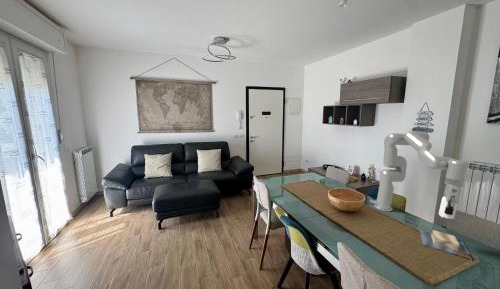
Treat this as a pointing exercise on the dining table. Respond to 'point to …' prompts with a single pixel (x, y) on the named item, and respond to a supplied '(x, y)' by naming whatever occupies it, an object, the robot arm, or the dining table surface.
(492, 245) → the dining table surface
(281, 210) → the dining table surface
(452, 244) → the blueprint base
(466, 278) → the dining table surface
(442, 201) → the can
